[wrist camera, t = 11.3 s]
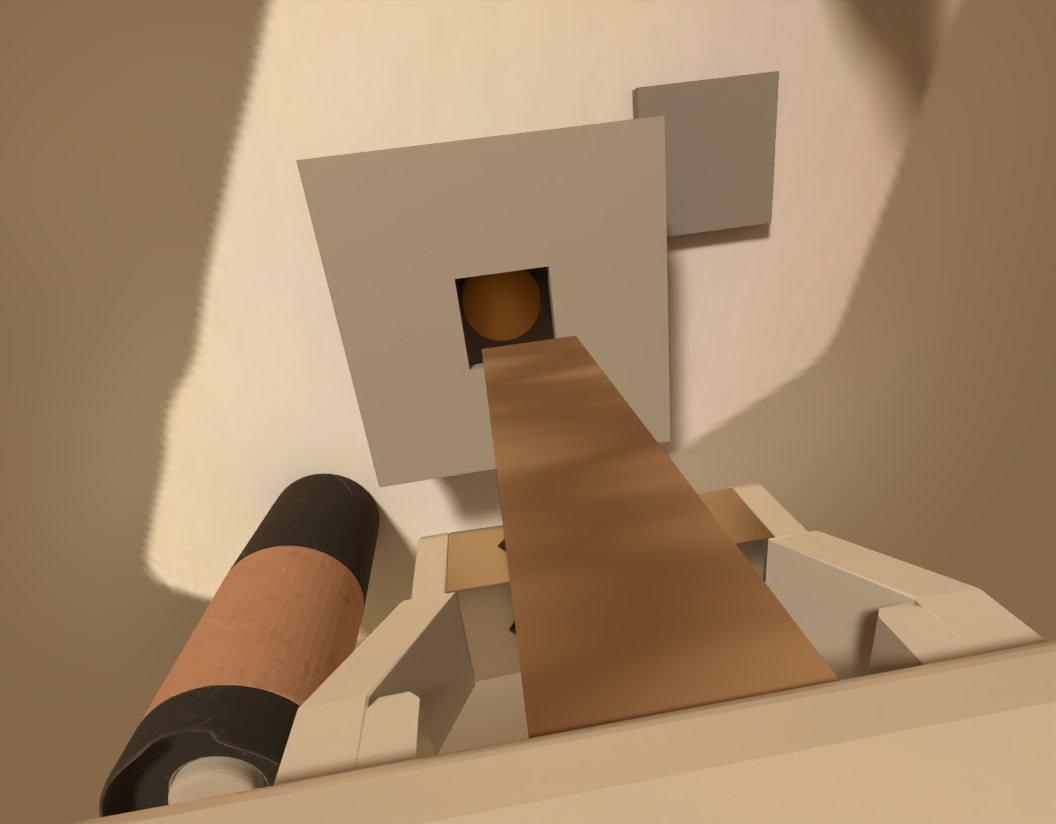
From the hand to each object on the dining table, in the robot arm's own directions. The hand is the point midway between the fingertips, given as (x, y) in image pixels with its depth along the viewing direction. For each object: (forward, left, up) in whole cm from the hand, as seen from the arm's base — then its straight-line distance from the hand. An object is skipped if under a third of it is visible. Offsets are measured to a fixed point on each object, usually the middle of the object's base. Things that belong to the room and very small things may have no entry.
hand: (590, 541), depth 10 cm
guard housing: (0, 0, -26) cm, 26 cm away
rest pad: (-13, -6, -26) cm, 30 cm away
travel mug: (+14, +14, -27) cm, 33 cm away
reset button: (0, 0, -25) cm, 25 cm away
